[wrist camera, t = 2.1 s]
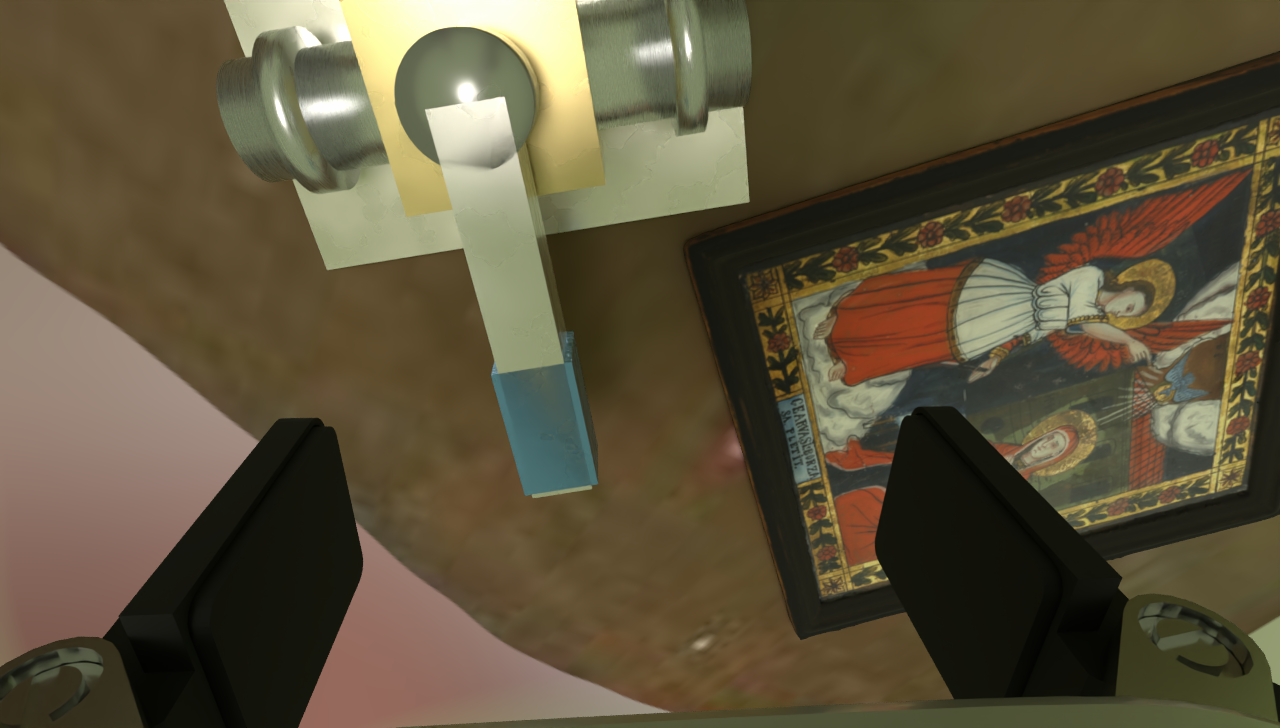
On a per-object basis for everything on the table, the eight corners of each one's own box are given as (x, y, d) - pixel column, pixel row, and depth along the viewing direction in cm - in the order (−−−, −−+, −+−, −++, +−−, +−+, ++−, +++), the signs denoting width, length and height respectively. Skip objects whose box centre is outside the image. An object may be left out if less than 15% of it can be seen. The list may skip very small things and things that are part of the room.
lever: (400, 37, 23) (375, 39, 20) (525, 17, 23) (516, 16, 20) (518, 461, 31) (512, 501, 29) (610, 446, 31) (612, 485, 29)
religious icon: (1347, -61, 32) (1413, -67, 29) (1308, 474, 47) (1349, 500, 45) (621, 260, 37) (623, 278, 34) (804, 644, 53) (814, 676, 50)
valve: (714, -248, 27) (758, -347, 19) (745, 197, 35) (784, 241, 28) (175, -158, 27) (24, -224, 20) (333, 263, 35) (268, 324, 28)
